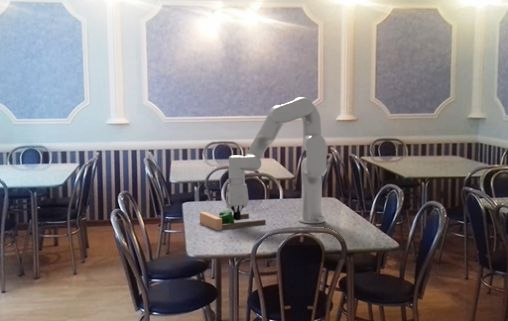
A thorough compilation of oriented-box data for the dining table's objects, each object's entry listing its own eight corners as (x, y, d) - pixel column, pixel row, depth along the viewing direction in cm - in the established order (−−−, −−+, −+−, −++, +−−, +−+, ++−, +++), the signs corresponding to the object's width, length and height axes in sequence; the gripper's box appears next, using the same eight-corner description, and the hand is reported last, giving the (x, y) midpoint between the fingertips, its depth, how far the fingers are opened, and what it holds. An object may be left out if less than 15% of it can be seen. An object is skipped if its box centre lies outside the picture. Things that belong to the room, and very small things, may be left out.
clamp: (223, 231, 292) (219, 213, 295) (235, 227, 293) (231, 209, 295) (221, 226, 281) (217, 208, 283) (234, 223, 281) (229, 204, 284)
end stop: (222, 229, 277) (222, 218, 276) (216, 230, 275) (216, 219, 275) (205, 222, 293) (205, 211, 292) (199, 222, 291) (199, 212, 291)
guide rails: (265, 224, 288) (265, 219, 288) (222, 229, 277) (222, 225, 277) (247, 217, 304) (247, 213, 303) (206, 221, 293) (206, 217, 292)
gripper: (226, 183, 282) (226, 222, 284) (254, 181, 289) (254, 219, 291) (219, 181, 288) (219, 219, 290) (246, 179, 295) (247, 216, 297)
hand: (237, 219), depth 290 cm, fingers closed
